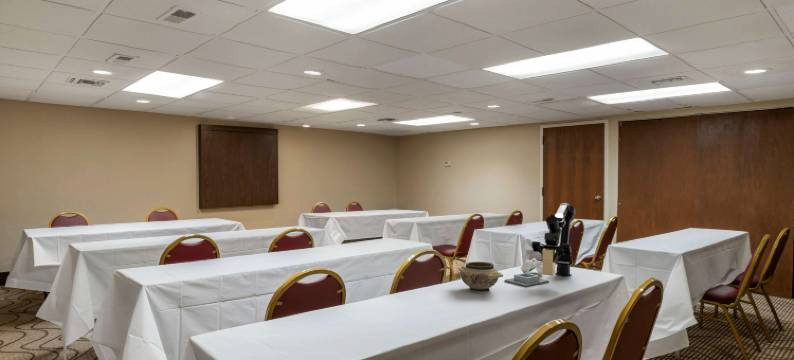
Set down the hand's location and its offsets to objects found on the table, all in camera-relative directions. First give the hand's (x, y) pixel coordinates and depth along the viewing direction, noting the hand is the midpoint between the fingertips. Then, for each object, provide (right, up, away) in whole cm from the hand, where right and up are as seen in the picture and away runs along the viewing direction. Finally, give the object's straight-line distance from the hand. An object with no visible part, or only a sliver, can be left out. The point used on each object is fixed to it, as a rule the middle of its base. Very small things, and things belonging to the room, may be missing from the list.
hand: (548, 261), depth 226 cm
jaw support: (+3, -13, +31) cm, 34 cm away
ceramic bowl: (-35, -13, -6) cm, 38 cm away
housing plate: (-8, -13, +11) cm, 19 cm away
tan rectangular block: (+1, -7, +1) cm, 7 cm away
